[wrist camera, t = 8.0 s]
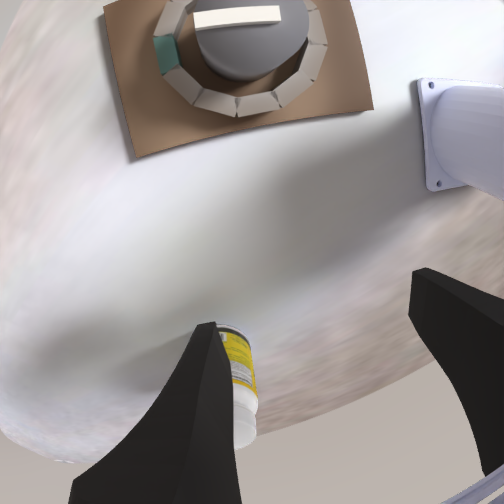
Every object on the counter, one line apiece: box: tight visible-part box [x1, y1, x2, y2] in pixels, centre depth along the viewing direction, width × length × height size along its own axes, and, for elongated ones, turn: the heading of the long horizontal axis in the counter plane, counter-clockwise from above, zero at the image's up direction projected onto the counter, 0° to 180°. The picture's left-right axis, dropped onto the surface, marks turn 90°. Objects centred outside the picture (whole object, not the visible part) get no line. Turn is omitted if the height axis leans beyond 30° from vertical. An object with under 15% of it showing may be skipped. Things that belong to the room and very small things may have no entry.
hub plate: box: [103, 0, 374, 158], centre depth 13 cm, size 14×10×2 cm
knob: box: [193, 0, 309, 83], centre depth 11 cm, size 4×4×5 cm
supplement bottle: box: [217, 325, 258, 450], centre depth 19 cm, size 5×5×8 cm
